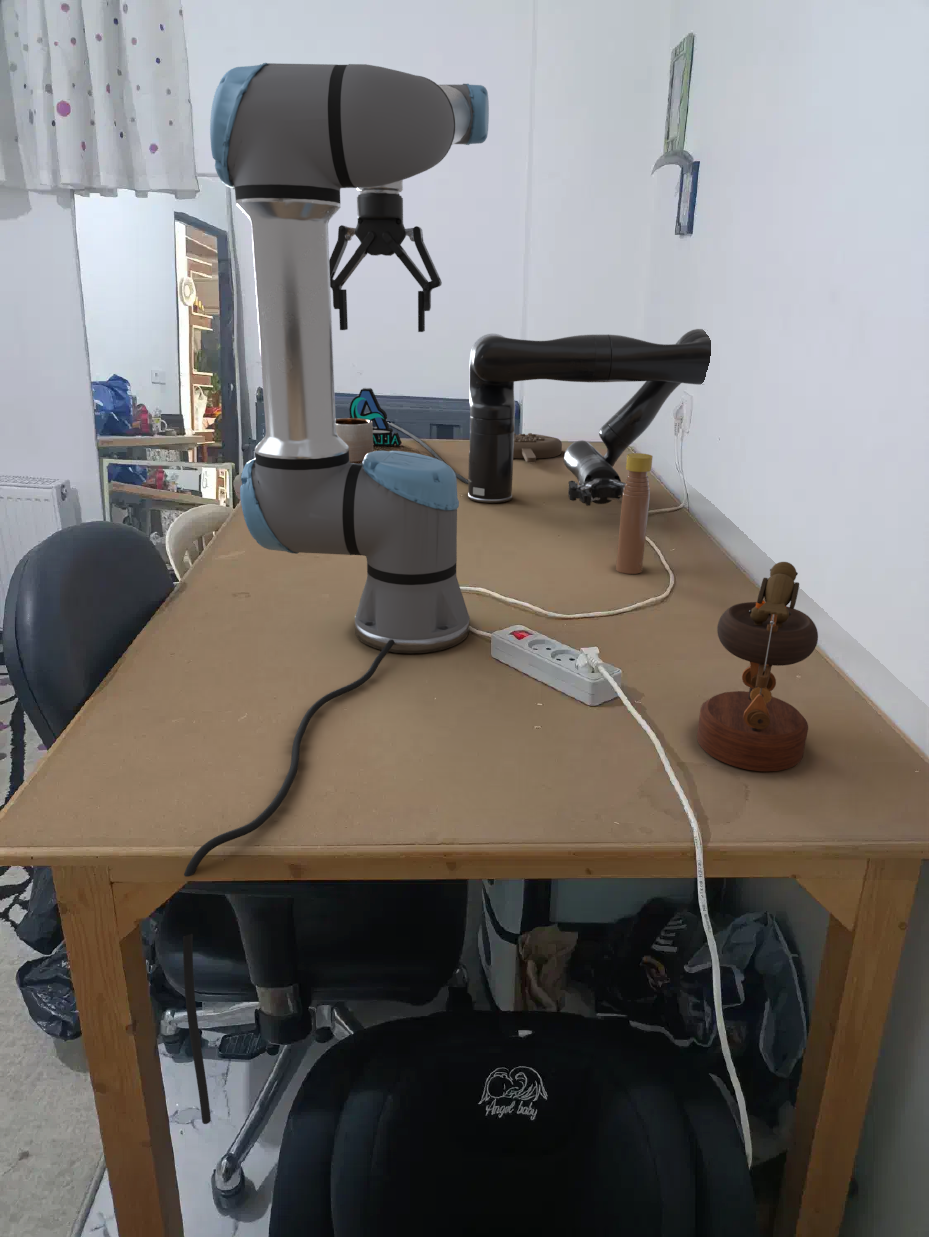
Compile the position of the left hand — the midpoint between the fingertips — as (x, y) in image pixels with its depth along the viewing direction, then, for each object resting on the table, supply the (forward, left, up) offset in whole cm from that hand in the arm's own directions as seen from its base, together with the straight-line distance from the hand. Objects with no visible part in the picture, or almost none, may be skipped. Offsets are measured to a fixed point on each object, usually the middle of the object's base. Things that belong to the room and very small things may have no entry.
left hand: (382, 331), depth 146 cm
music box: (-73, -52, -35) cm, 96 cm away
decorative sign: (+78, +20, -35) cm, 88 cm away
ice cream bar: (+69, -24, -35) cm, 81 cm away
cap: (-19, -44, -17) cm, 50 cm away
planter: (+58, +20, -35) cm, 70 cm away
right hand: (+1, -42, -29) cm, 51 cm away
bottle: (-19, -44, -35) cm, 59 cm away
